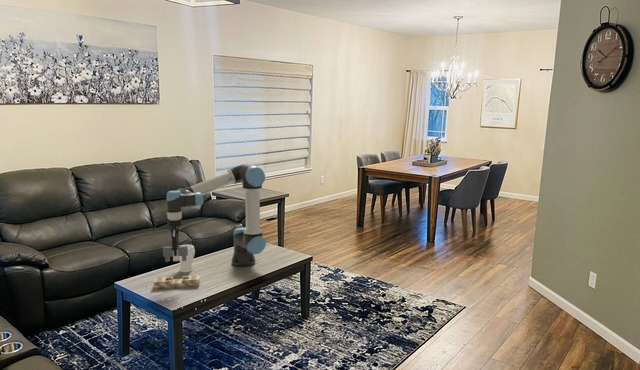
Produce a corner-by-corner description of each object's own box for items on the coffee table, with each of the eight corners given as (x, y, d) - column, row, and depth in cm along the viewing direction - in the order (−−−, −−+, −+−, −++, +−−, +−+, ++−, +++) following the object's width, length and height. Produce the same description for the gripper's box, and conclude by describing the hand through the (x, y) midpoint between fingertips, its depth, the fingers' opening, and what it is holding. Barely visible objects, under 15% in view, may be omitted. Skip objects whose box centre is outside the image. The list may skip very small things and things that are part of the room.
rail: (199, 281, 266) (199, 275, 265) (199, 286, 259) (198, 279, 258) (156, 284, 261) (155, 277, 260) (154, 289, 254) (153, 282, 254)
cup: (190, 274, 278) (189, 250, 275) (174, 272, 280) (173, 248, 277) (198, 268, 288) (197, 244, 285) (182, 266, 290) (181, 243, 287)
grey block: (188, 259, 260) (187, 245, 259) (187, 260, 257) (187, 247, 256) (164, 260, 257) (163, 246, 256) (163, 262, 255) (162, 248, 254)
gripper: (169, 215, 260) (170, 255, 264) (165, 222, 245) (167, 264, 249) (182, 215, 262) (184, 255, 266) (180, 222, 247) (181, 264, 251)
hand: (176, 259), depth 257 cm, fingers closed on grey block, 3 cm apart
